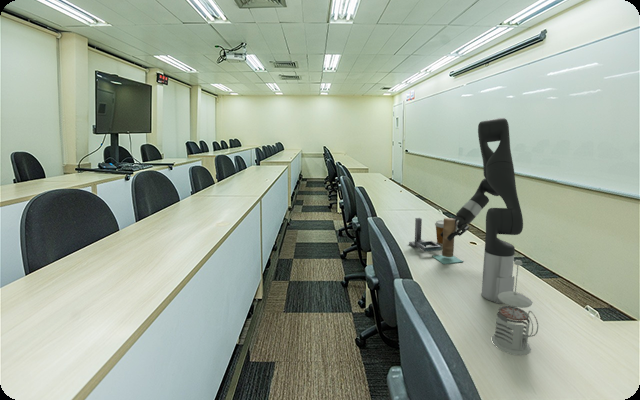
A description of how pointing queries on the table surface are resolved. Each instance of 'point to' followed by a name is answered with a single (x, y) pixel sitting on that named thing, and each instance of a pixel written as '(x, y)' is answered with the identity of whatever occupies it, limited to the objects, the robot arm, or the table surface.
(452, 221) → the walnut rod
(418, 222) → the ring stand
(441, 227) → the disposable coffee cup
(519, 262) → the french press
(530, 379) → the table surface
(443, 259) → the felt coaster
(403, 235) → the table surface
